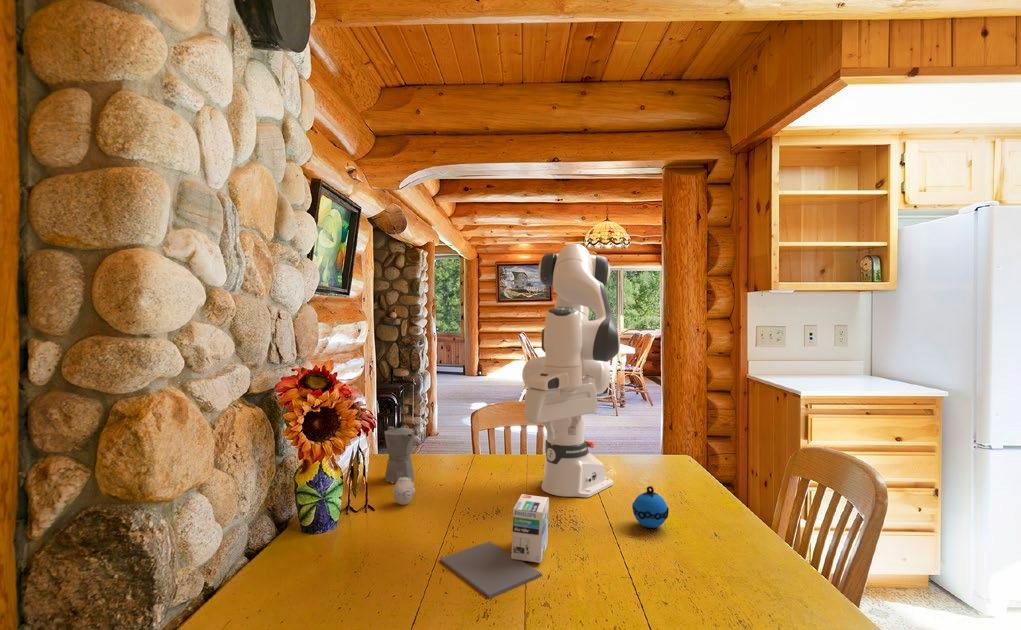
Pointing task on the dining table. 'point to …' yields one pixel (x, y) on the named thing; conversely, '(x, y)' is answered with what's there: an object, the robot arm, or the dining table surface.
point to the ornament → (650, 509)
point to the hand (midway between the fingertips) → (562, 437)
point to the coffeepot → (398, 452)
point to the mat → (490, 569)
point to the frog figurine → (403, 490)
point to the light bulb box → (530, 528)
